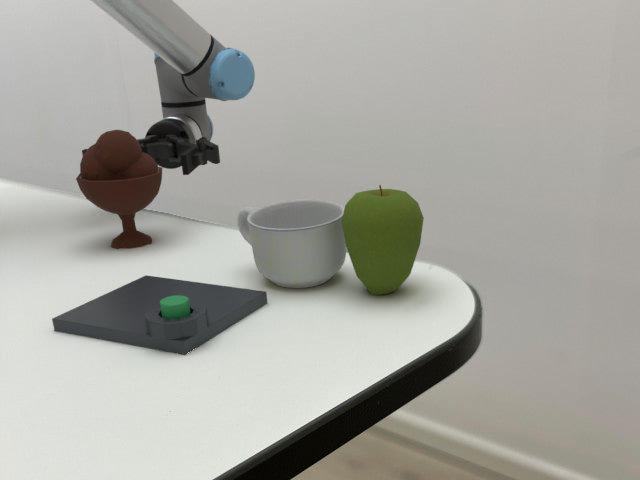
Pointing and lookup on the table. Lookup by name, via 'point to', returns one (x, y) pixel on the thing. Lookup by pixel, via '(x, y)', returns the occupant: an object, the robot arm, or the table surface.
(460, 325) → the table surface
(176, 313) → the button
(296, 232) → the teacup
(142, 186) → the ice cream bowl
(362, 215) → the apple
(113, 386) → the table surface
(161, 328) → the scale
